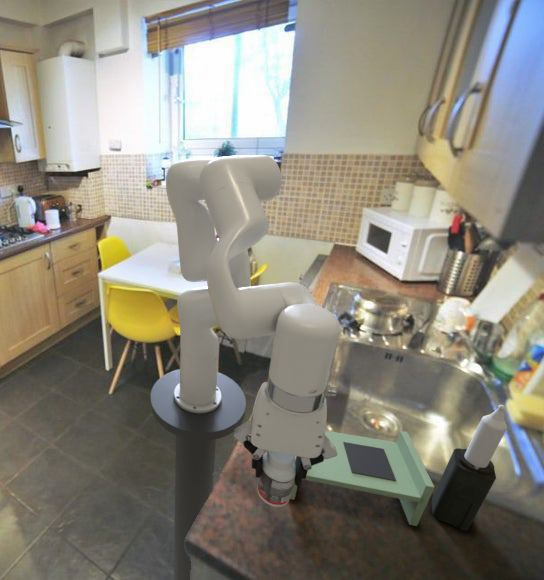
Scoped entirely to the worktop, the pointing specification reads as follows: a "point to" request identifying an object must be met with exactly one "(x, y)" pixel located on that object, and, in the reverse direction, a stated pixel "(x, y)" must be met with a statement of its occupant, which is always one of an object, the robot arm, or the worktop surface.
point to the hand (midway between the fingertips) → (277, 473)
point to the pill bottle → (276, 478)
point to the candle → (469, 474)
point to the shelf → (376, 470)
